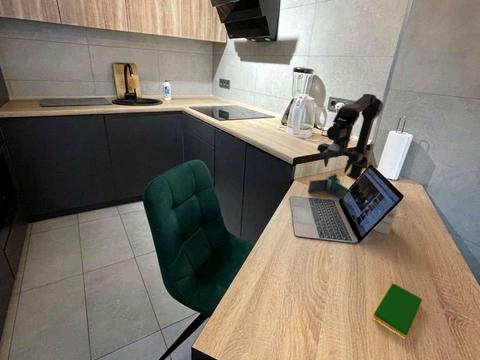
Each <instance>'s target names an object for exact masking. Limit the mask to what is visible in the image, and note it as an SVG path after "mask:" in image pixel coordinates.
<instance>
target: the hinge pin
mask: <svg viewBox="0 0 480 360" xmlns="http://www.w3.org/2000/svg"><path fill="white" fill-rule="evenodd" d="M329 176H330V180H332V181H336V178H338V174H335V173H331V174H330V175H329Z"/></svg>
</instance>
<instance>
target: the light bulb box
mask: <svg viewBox="0 0 480 360" xmlns="http://www.w3.org/2000/svg"><path fill="white" fill-rule="evenodd" d="M367 202H368V201H367V200H366V199H365V202H364V204H365V203H367ZM398 207H399V204H398V205H397V206H396V207H395V208H394V209H393V210H392V211H391V212H390V213H389V214H388V215H387V216H386V217H385V218H384V219H383V220H382V221H381V222H380V223H379V224H378V225H377V227H376V228H375V229H374V230H373V231H376V232H378V233H382V234H384V235H388V236H389V235H390V232H391V229H392V227H393V223H394V220H395V219H396V215H397V212H398Z"/></svg>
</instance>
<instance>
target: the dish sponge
mask: <svg viewBox="0 0 480 360" xmlns="http://www.w3.org/2000/svg"><path fill="white" fill-rule="evenodd" d="M422 302H423V299H422V298H421V297H419V296H417V295H415V294H414V293H412V292H410V291H408V290H406V289H405V288H403V287H401V286H399V285H397V284H395V283H391V285H390V287H389V288H388V290H387V291H386V293H385V295H384V297H383V298H382V299H381V301H380V303H379V305H378V306H377V307H376V310H375V312H374V313H373V316H372V318H373V317H374V318H375V319H376V320H378V321H380V322H381V323H383V324H385V325H386V326H388V327H389V328H390V329H392V330H394V331H396V332H397V333H399V334H400V335H401V336H403V337H406V338H407V336H408V334H409V332H410V329H411V328H412V327H411V326H412V325H413V322H414V320H415V318H416V315H417V313H418V310H419V308H420V306H421V304H422Z"/></svg>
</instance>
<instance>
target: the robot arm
mask: <svg viewBox="0 0 480 360" xmlns="http://www.w3.org/2000/svg"><path fill="white" fill-rule="evenodd" d="M383 108H384V104H383V101H382V100H381V99H379V98H377V95H375V94H370V93H364V94H363V95H362V96H361V97H359V98H358V99H357V100H356V101H354V102H353V103H350V104H345V105H342V106H340V108H339V109H338V111H337V113H336V114H335V116H334V118H333V120H332V123H333V124H332V126H330V127H328V128H327V131H326V136H327V138H328V139H329V140H330V141H333V142H332V143H331V144H329V143H326V142H323V143H320V144H318V145H317V148H316V151H317V152H319V154H321V155H322V157H323V162H324V163H323V164H324V167H327V166H328V164H329V160H330V157H331V156H332V157H334V158H338V157H339V156H345V157H348V159H347V160H346V165H345V167H344V171H343V173H344V174H346V173H347V172H348V170H349V169H350V170H349V172H348V173H347V174H346V176H347V177H350V178H354V179H356V180H358V179H357V178H358V177H359V176H360V175H362V172H363V170H364V169H368V166H369V158H368V155H369V152H368V150H367V145H368V142H369V139H370V135H371V132H372V129H373V125H374V121H375V120H376V119H377V117H378V116H380V113H381V112H382V111H383ZM360 113H361V116H362V118H363V120H362V123H361V127H360V131H359V135H358V139H357V143H356V146H355V148H354V149H353V150H351V151H350V152H349V148H348V147H349V142H350V141H351V136H352V132H353V127H354V126H355V124H356V122H357V121H358V119H359V117H360Z"/></svg>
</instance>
